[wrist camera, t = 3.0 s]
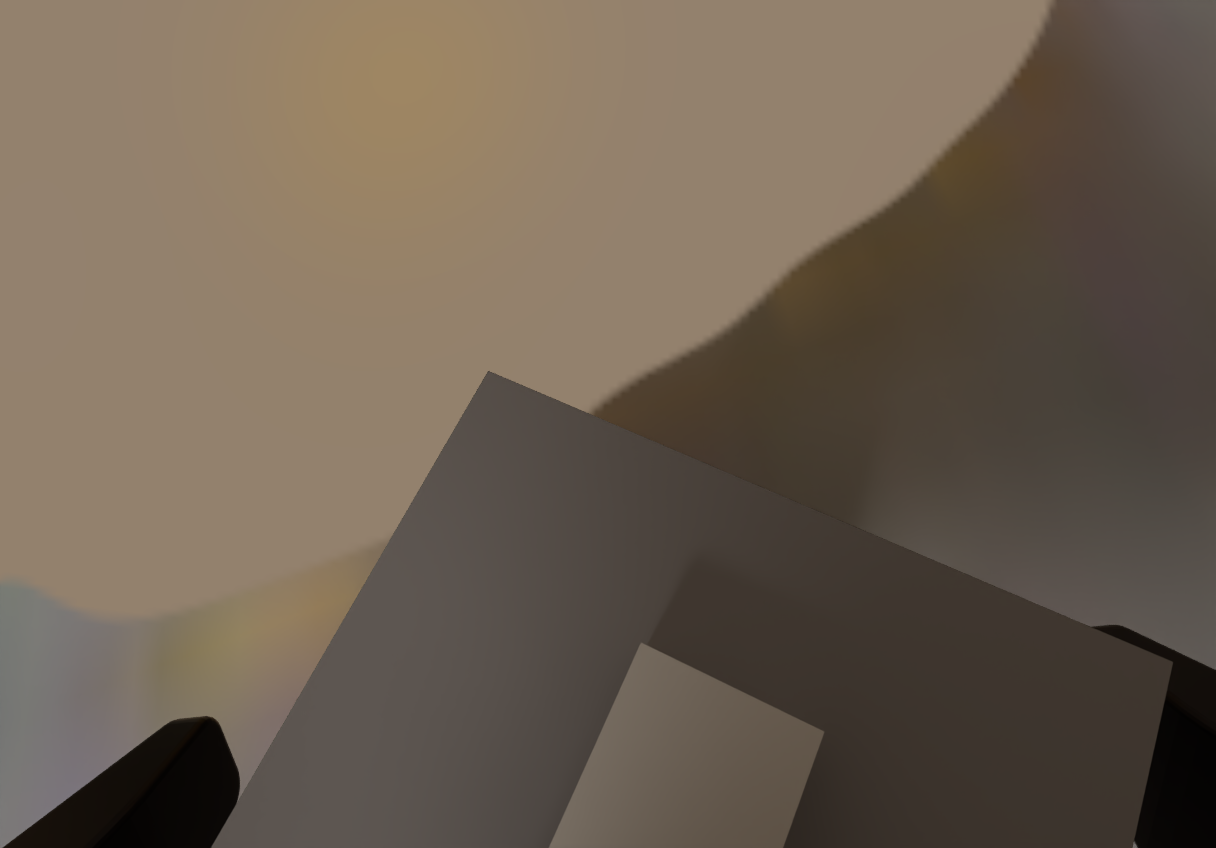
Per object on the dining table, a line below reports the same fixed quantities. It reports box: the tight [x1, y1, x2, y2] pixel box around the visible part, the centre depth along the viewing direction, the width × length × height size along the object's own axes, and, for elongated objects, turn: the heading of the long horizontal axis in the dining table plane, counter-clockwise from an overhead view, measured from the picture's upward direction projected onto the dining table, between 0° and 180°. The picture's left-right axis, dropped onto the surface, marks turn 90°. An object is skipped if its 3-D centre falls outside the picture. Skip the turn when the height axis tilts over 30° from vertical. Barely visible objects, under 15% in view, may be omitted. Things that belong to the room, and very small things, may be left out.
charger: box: [211, 371, 1173, 848], centre depth 9 cm, size 4×4×12 cm
